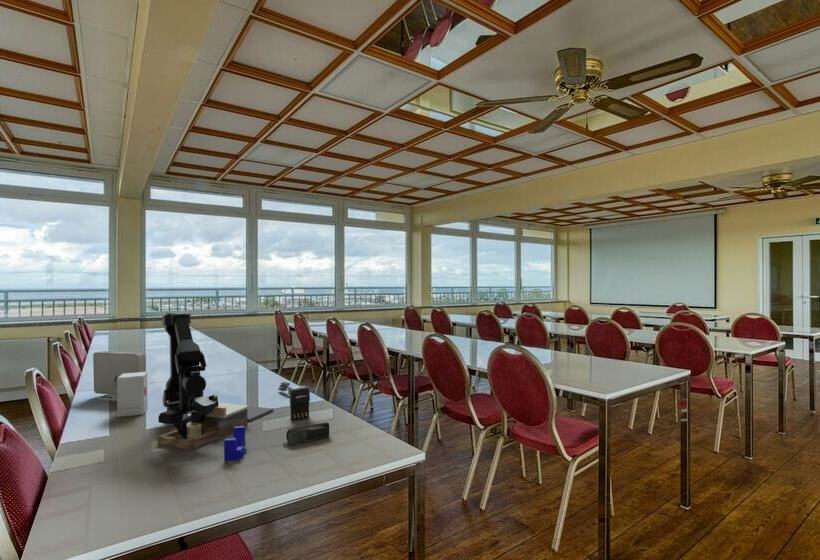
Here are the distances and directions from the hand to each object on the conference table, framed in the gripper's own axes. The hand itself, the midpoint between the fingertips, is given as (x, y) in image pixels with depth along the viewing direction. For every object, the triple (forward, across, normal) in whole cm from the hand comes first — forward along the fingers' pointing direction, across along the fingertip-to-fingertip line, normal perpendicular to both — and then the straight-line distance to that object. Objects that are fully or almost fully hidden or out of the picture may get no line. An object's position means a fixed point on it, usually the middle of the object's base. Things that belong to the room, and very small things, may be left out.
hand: (190, 437), depth 142 cm
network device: (+1, +30, +73) cm, 78 cm away
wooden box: (+1, +6, 0) cm, 6 cm away
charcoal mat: (+1, +28, +1) cm, 28 cm away
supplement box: (+1, +16, +46) cm, 49 cm away
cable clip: (+1, -3, -22) cm, 22 cm away
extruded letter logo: (+2, +54, 0) cm, 54 cm away
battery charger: (+1, +30, -21) cm, 36 cm away
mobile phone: (+1, +11, -36) cm, 38 cm away
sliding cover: (-5, +13, 0) cm, 14 cm away
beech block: (+1, 0, 0) cm, 1 cm away
